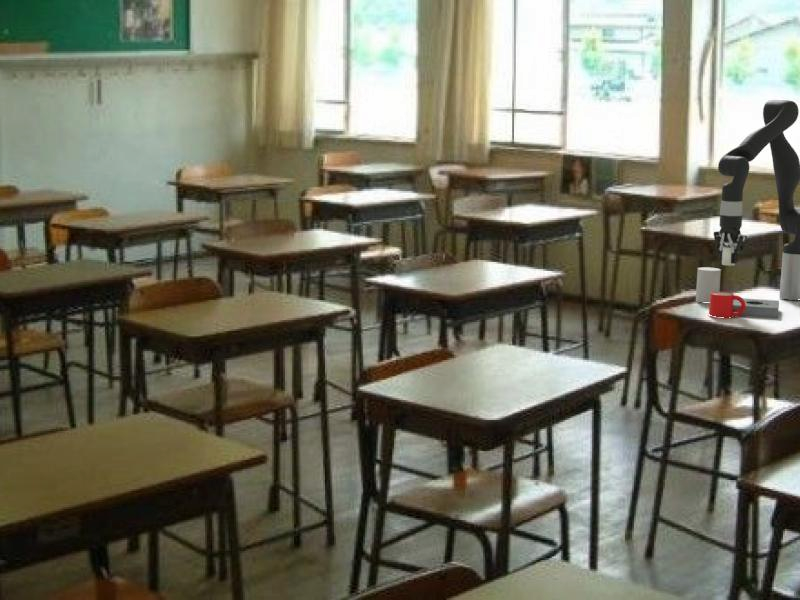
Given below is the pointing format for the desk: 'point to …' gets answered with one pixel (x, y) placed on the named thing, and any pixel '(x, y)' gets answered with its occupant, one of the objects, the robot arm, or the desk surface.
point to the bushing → (727, 256)
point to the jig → (758, 308)
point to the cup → (707, 283)
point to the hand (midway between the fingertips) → (728, 262)
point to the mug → (724, 304)
